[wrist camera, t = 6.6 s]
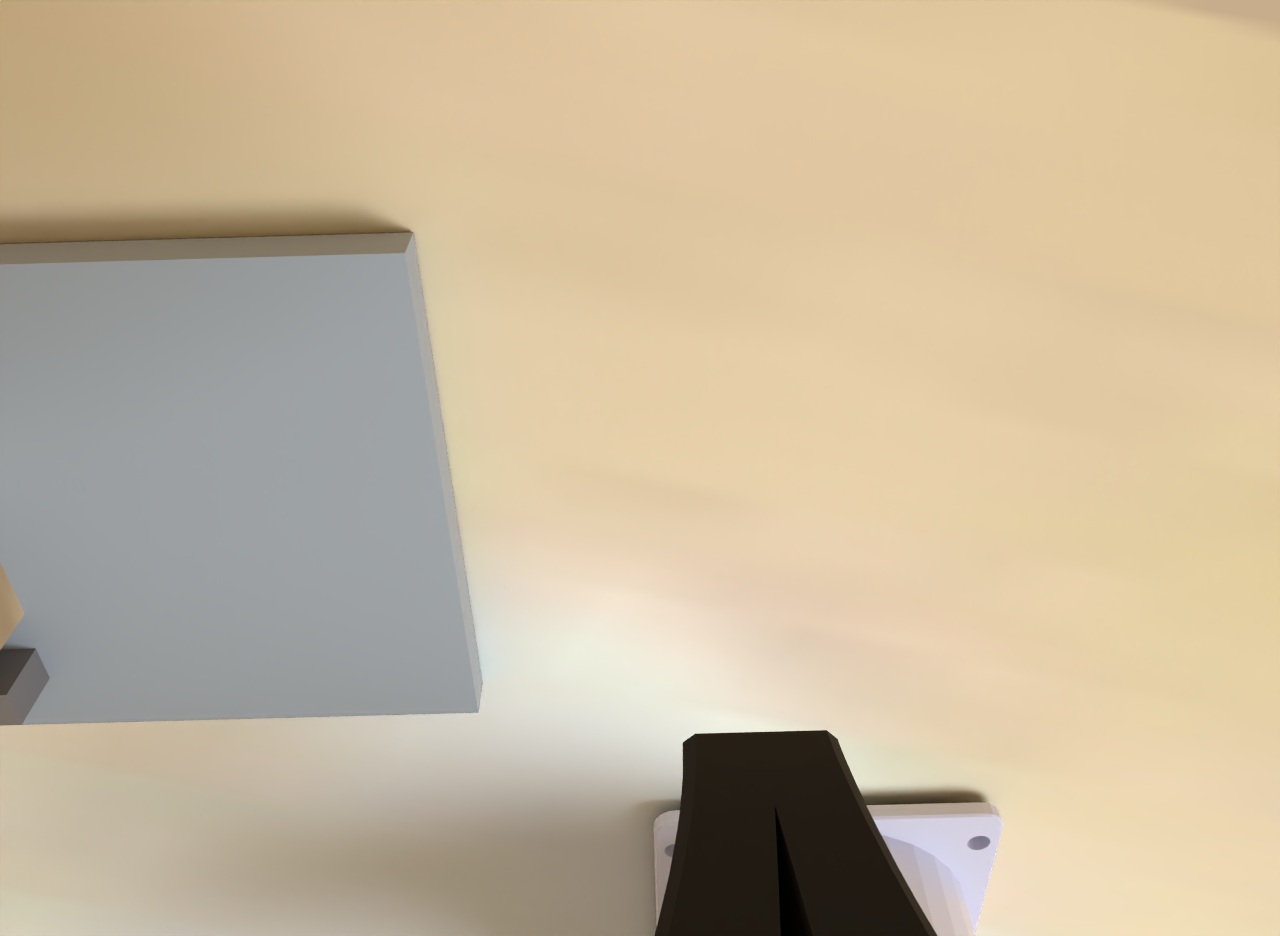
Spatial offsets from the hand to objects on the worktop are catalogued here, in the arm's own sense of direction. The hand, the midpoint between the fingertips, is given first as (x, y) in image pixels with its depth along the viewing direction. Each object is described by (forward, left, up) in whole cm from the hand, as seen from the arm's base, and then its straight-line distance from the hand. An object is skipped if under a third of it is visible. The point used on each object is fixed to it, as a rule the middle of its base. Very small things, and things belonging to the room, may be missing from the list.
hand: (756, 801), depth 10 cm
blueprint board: (-3, +12, -9) cm, 16 cm away
